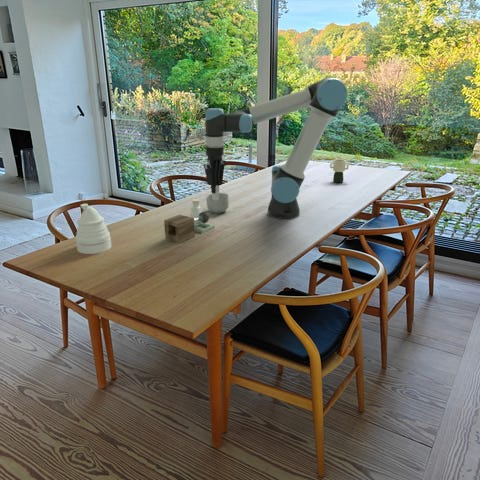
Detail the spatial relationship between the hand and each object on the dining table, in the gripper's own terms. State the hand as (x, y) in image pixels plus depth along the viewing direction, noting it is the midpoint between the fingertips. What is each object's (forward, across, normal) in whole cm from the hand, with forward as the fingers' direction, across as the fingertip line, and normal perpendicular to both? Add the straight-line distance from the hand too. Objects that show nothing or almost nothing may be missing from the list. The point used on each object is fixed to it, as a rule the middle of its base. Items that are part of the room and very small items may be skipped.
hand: (215, 199), depth 200 cm
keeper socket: (+11, +11, 0) cm, 15 cm away
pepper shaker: (+11, +3, -9) cm, 14 cm away
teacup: (+11, -14, -10) cm, 20 cm away
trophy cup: (+10, -99, +16) cm, 101 cm away
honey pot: (+11, +51, -20) cm, 56 cm away
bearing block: (+11, +24, 0) cm, 26 cm away
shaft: (+8, +15, 0) cm, 17 cm away
